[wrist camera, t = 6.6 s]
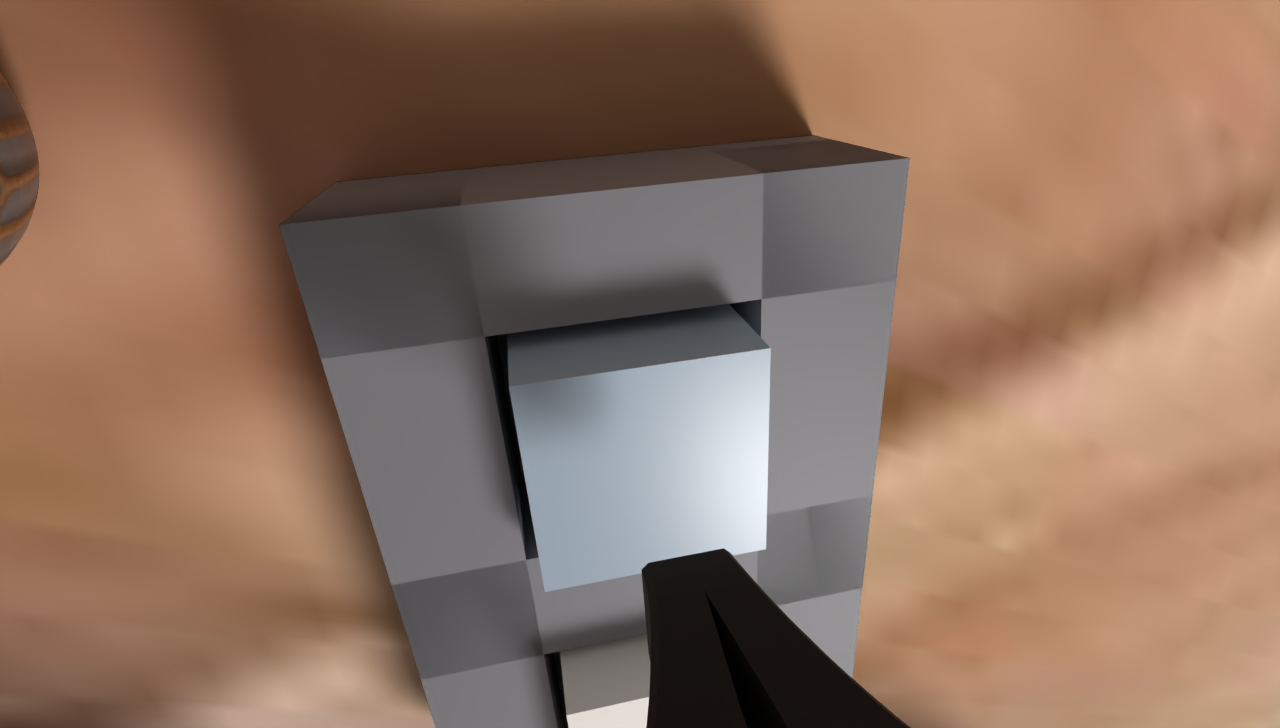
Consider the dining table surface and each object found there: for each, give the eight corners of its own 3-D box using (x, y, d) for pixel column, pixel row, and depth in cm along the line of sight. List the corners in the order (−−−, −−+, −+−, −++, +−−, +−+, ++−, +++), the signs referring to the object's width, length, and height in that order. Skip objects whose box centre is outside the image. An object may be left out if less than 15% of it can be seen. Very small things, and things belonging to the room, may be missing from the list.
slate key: (714, 453, 18) (766, 549, 15) (535, 483, 17) (545, 592, 14) (710, 284, 16) (770, 347, 12) (506, 311, 15) (508, 386, 12)
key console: (788, 664, 26) (841, 774, 22) (482, 732, 24) (479, 866, 20) (813, 135, 17) (909, 158, 13) (336, 182, 15) (279, 224, 11)
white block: (718, 674, 22) (760, 792, 19) (573, 706, 21) (587, 835, 18) (716, 562, 20) (763, 671, 16) (554, 594, 19) (566, 715, 16)
